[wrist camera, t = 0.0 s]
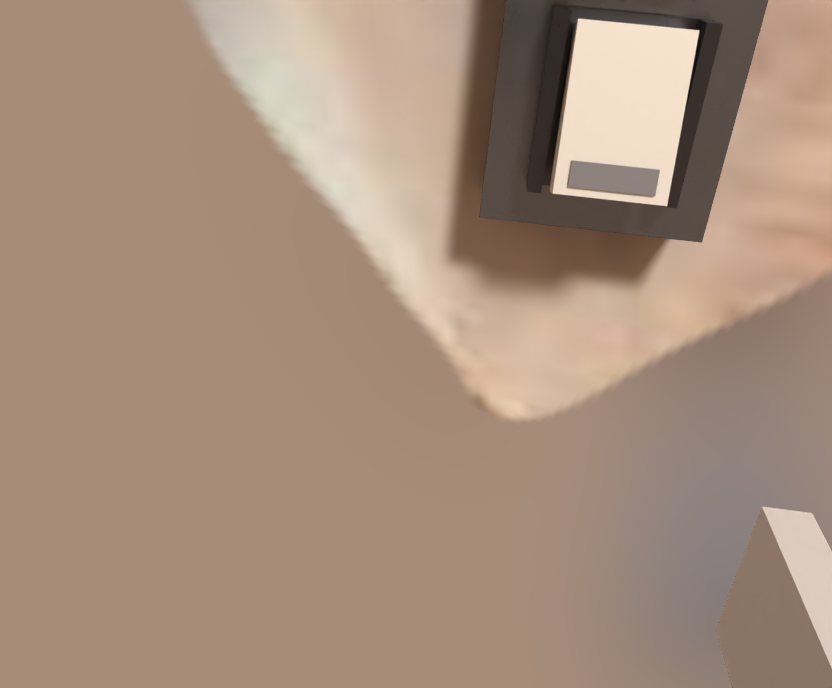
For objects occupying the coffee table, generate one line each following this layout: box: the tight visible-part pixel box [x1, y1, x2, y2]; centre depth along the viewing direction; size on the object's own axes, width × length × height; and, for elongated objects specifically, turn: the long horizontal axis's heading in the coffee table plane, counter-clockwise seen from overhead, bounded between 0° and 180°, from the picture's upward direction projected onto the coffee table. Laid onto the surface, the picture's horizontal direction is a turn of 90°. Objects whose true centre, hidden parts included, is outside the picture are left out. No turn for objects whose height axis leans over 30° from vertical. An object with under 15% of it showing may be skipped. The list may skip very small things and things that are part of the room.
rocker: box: [549, 19, 699, 206], centre depth 30 cm, size 6×4×2 cm
